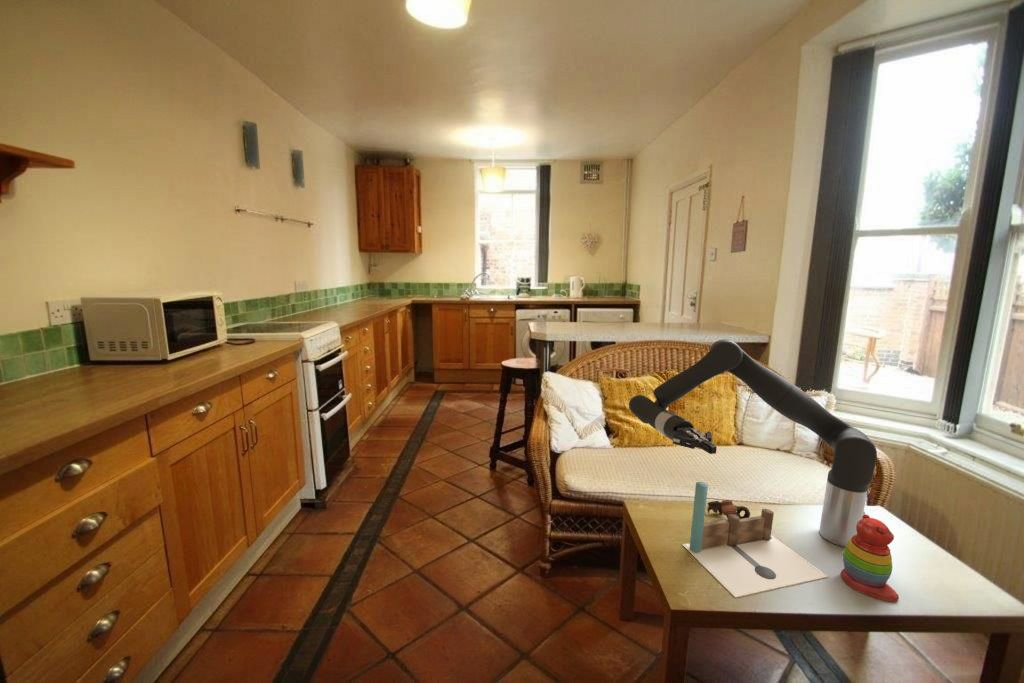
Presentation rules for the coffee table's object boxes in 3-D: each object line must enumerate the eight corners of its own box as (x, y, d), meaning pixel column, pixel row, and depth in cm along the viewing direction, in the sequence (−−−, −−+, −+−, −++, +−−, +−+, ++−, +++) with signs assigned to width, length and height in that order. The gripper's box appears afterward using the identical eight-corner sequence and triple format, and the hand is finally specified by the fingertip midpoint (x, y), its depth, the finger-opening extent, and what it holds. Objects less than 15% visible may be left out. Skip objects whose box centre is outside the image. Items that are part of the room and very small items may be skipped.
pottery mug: (714, 532, 127) (706, 503, 130) (709, 528, 135) (703, 501, 138) (757, 528, 124) (748, 499, 127) (749, 525, 132) (742, 497, 135)
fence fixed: (764, 533, 125) (767, 508, 124) (772, 539, 122) (776, 513, 121) (722, 541, 121) (725, 514, 120) (730, 547, 118) (733, 520, 117)
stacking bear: (902, 603, 100) (916, 536, 97) (854, 596, 102) (866, 530, 99) (873, 572, 110) (885, 510, 107) (830, 566, 112) (840, 505, 109)
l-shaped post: (721, 539, 121) (728, 477, 118) (729, 546, 118) (737, 482, 115) (687, 545, 118) (693, 482, 115) (694, 552, 115) (701, 487, 112)
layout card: (764, 530, 127) (764, 529, 127) (828, 577, 108) (828, 576, 108) (682, 545, 120) (682, 544, 119) (735, 598, 100) (735, 596, 100)
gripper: (655, 416, 124) (694, 439, 108) (693, 413, 128) (736, 435, 111) (653, 440, 126) (691, 466, 109) (690, 436, 129) (733, 461, 113)
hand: (714, 450), depth 110 cm, fingers closed
